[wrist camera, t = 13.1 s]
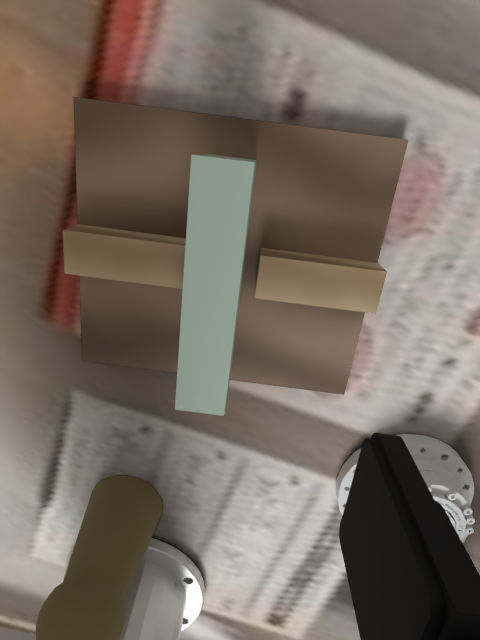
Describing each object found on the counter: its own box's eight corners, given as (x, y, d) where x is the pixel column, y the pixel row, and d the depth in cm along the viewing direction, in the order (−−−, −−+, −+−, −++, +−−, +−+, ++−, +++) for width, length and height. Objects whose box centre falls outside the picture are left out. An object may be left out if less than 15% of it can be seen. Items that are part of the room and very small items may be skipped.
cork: (177, 503, 34) (141, 654, 23) (134, 541, 36) (84, 696, 25) (118, 462, 32) (52, 603, 22) (77, 504, 34) (-1, 651, 24)
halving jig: (341, 386, 29) (349, 411, 26) (87, 354, 29) (69, 375, 26) (402, 140, 23) (421, 138, 20) (81, 99, 23) (56, 91, 20)
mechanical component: (461, 419, 30) (324, 443, 31) (493, 462, 25) (333, 488, 27) (469, 519, 33) (346, 537, 34) (498, 570, 29) (357, 589, 30)
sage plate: (233, 353, 27) (224, 415, 21) (195, 348, 27) (174, 409, 21) (256, 160, 23) (254, 162, 16) (211, 154, 23) (191, 154, 16)
